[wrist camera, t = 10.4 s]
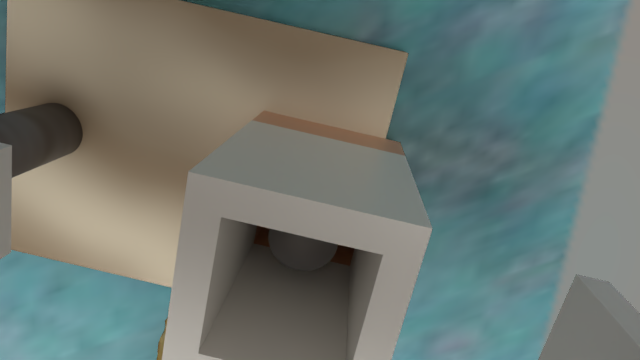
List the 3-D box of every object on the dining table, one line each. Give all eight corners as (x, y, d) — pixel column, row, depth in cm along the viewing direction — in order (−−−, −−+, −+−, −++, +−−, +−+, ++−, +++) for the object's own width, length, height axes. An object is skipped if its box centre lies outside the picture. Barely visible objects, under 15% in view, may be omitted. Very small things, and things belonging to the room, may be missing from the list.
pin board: (36, -33, 18) (-116, -65, 12) (404, 51, 18) (425, 60, 12) (26, 233, 21) (-97, 307, 15) (337, 306, 21) (329, 408, 15)
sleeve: (240, 235, 19) (159, 374, 11) (263, 110, 17) (188, 171, 10) (366, 265, 19) (370, 424, 11) (400, 142, 17) (432, 228, 10)
